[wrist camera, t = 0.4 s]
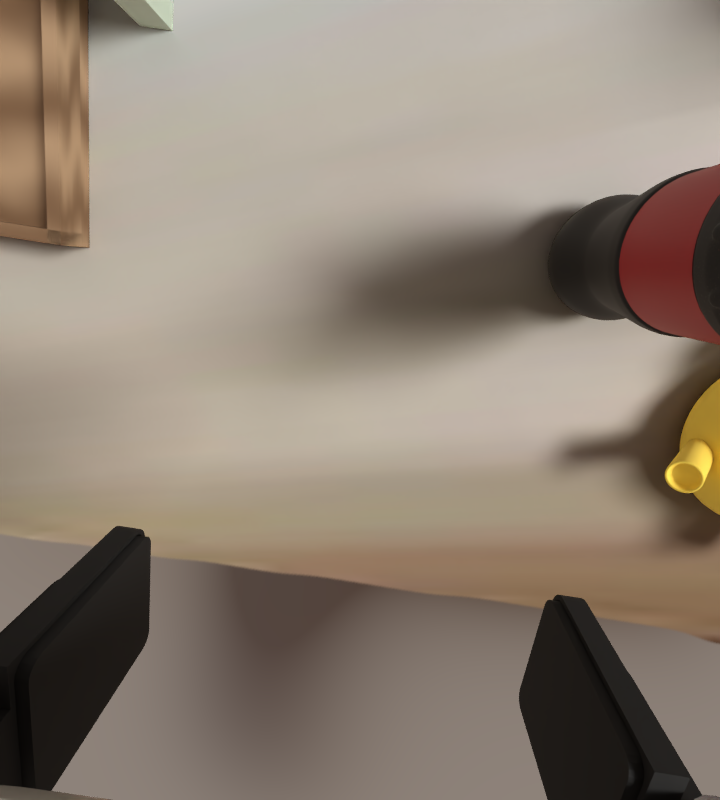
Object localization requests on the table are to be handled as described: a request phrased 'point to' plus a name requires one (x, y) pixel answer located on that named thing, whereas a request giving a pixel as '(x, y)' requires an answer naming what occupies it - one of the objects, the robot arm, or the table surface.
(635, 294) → the cola bottle
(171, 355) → the table surface
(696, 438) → the teapot
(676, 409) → the table surface
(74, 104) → the wooden divided tray
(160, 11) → the door
